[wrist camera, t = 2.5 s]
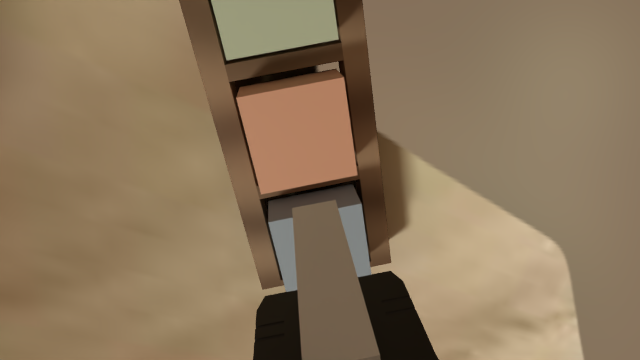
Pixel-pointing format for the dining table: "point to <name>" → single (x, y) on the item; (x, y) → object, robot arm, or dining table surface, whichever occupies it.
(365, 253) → the cap slate
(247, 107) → the cap terracotta
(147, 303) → the dining table surface
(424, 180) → the dining table surface
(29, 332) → the dining table surface
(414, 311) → the robot arm
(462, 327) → the dining table surface
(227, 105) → the button board
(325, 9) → the cap sage
